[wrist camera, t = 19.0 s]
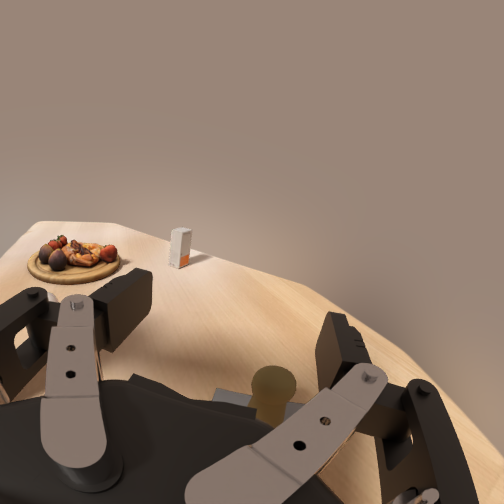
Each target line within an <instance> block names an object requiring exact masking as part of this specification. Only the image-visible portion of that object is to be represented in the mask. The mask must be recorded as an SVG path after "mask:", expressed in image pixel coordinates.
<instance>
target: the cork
mask: <svg viewBox="0 0 504 504" xmlns="http://www.w3.org/2000/svg"><path fill="white" fill-rule="evenodd" d="M251 385H252V392H253V395H252V397H251V399H250V401H249V403H248V405H247V407H251V408H256V409H257V413H256V418H258V419H260V420H262V421H264V422H266V423H268V424H270V425H271V426H273V427H274V428H276V427H278V426H279V425H280V424H282V423H283V421H284V416H285V410H286V405H287V402H288V401H290V399H291V398H292V397H293V395H294V394H295V391H296V380H295V377H294V375H293V374H292V373H291V372H290V371H288V370H287V369H285V368H283V367H279V366H266V367H263V368H261V369H260V370H258V371H257V372H256V374H255V375H254V377H253V380H252V384H251Z"/></svg>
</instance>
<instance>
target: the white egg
mask: <svg viewBox="0 0 504 504" xmlns="http://www.w3.org/2000/svg"><path fill="white" fill-rule="evenodd" d="M47 293H48V300H49V301H52V302H58V299H57V298H56V296H55V295H53V294H52V293H49V292H47ZM58 303H59V302H58Z"/></svg>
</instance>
